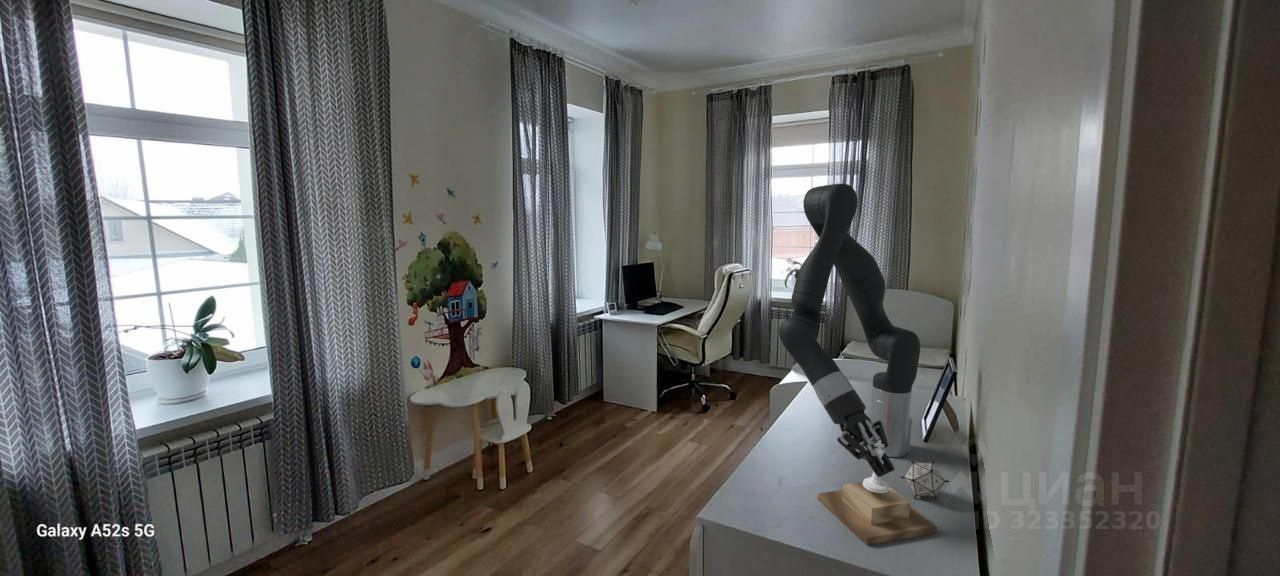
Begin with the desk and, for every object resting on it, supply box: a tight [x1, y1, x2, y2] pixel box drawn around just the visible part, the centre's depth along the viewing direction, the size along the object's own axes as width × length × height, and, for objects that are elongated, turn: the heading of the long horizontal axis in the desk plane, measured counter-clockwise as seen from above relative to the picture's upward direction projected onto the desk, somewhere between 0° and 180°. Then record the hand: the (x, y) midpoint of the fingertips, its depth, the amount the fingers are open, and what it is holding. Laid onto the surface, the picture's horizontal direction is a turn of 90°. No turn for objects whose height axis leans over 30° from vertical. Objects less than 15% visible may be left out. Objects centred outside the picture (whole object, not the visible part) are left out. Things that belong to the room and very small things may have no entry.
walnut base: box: [817, 481, 938, 546], centre depth 107 cm, size 16×16×5 cm
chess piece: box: [862, 441, 890, 493], centre depth 106 cm, size 5×5×10 cm
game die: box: [899, 459, 950, 500], centre depth 115 cm, size 9×8×10 cm
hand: (886, 473), depth 104 cm, fingers closed on chess piece
